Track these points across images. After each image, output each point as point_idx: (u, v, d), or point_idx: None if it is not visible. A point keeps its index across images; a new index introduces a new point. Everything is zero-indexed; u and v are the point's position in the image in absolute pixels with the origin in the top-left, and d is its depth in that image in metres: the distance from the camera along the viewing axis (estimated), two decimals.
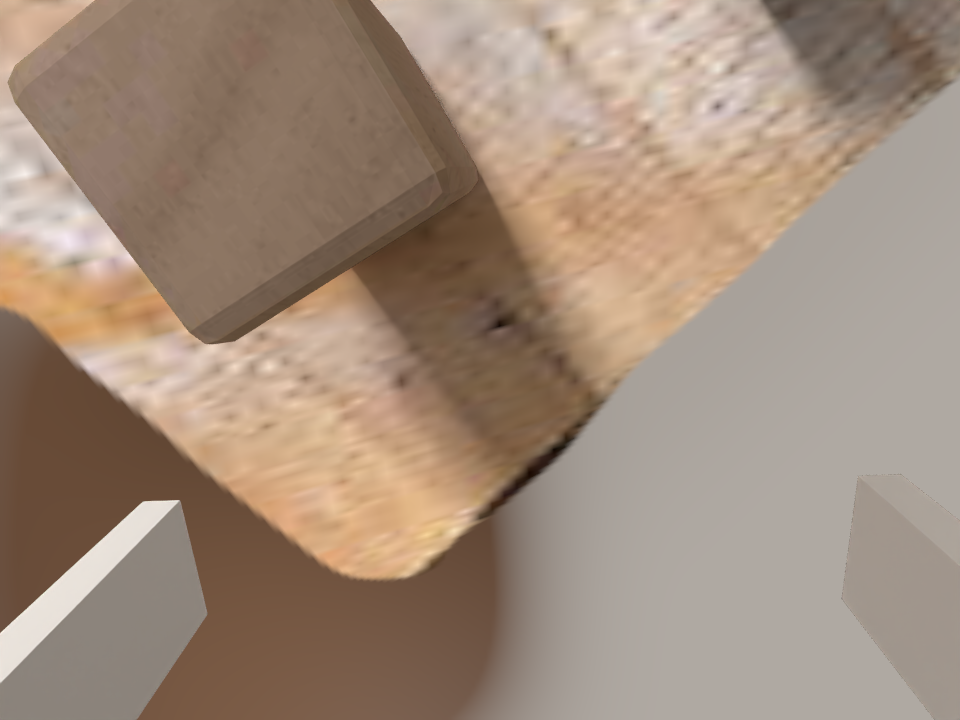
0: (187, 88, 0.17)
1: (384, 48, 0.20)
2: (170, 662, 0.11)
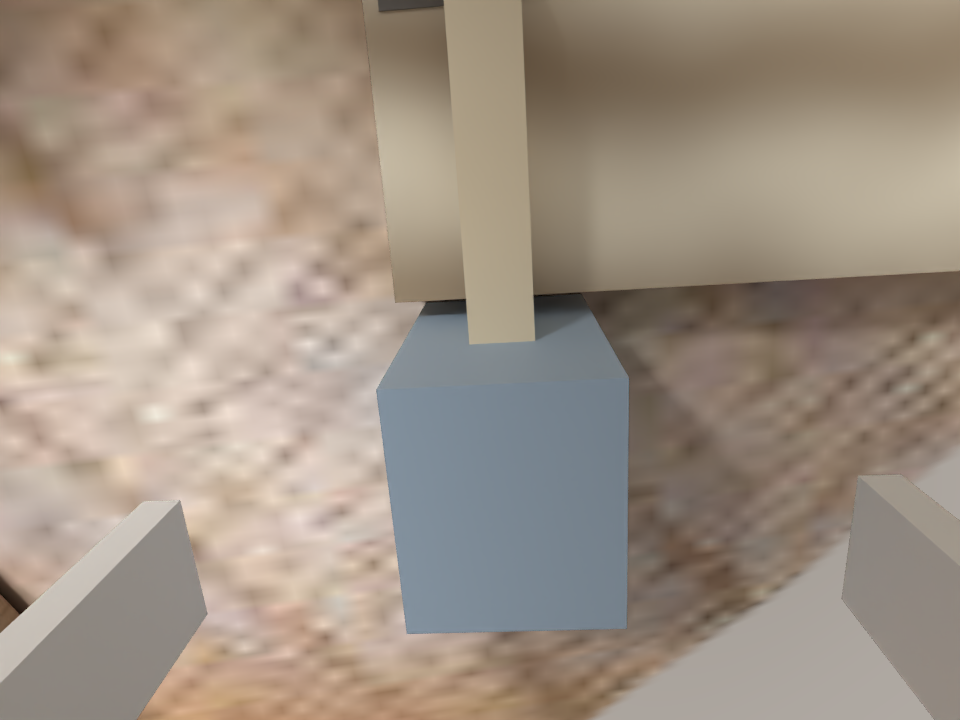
0: None
1: None
2: (170, 662, 0.11)
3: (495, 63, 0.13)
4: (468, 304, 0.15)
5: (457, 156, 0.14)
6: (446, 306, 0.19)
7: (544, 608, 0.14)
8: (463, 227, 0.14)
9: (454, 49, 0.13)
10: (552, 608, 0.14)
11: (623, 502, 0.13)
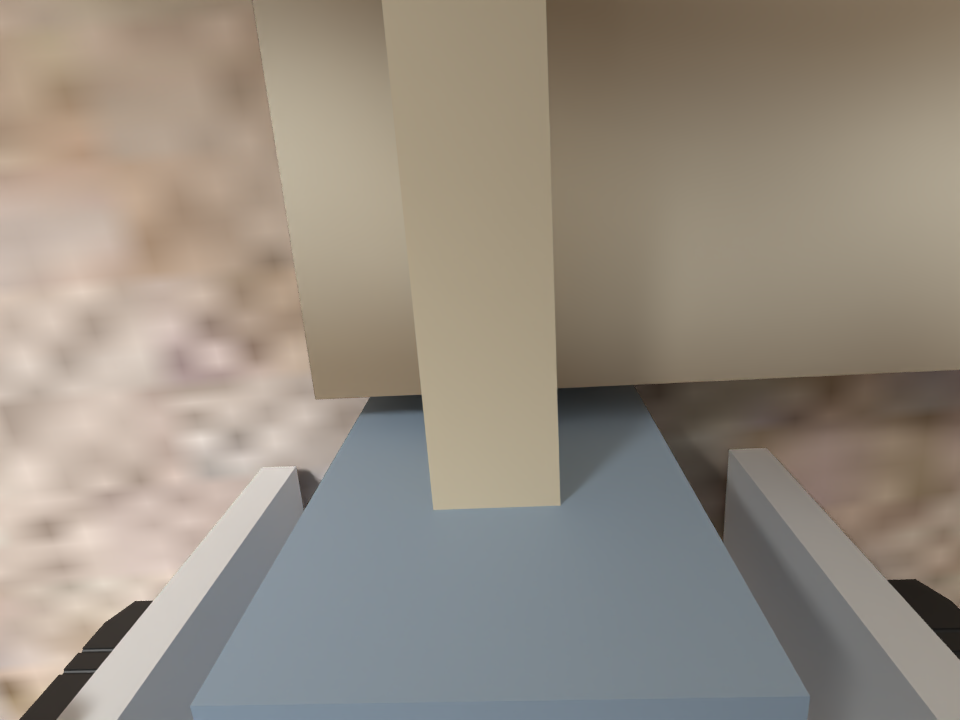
0: None
1: None
2: None
3: None
4: (430, 437, 0.07)
5: (401, 146, 0.06)
6: None
7: None
8: (416, 292, 0.07)
9: None
10: None
11: None
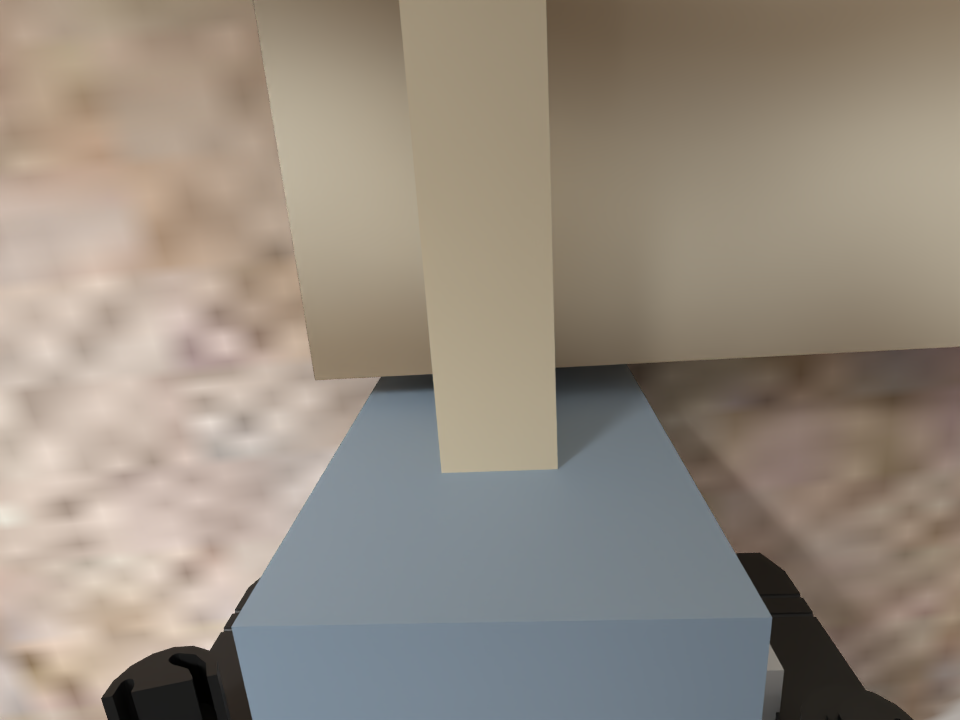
0: None
1: None
2: None
3: None
4: (439, 406, 0.08)
5: (415, 139, 0.07)
6: None
7: None
8: (428, 271, 0.08)
9: None
10: None
11: None
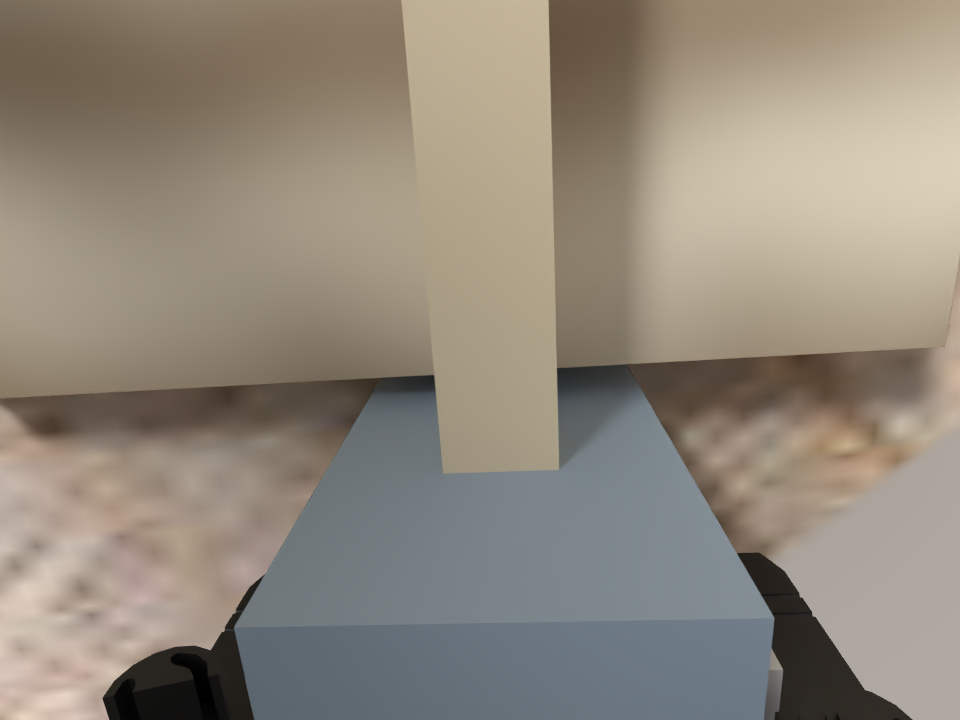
0: None
1: None
2: None
3: None
4: (440, 406, 0.08)
5: (417, 140, 0.07)
6: None
7: None
8: (430, 272, 0.08)
9: None
10: None
11: None
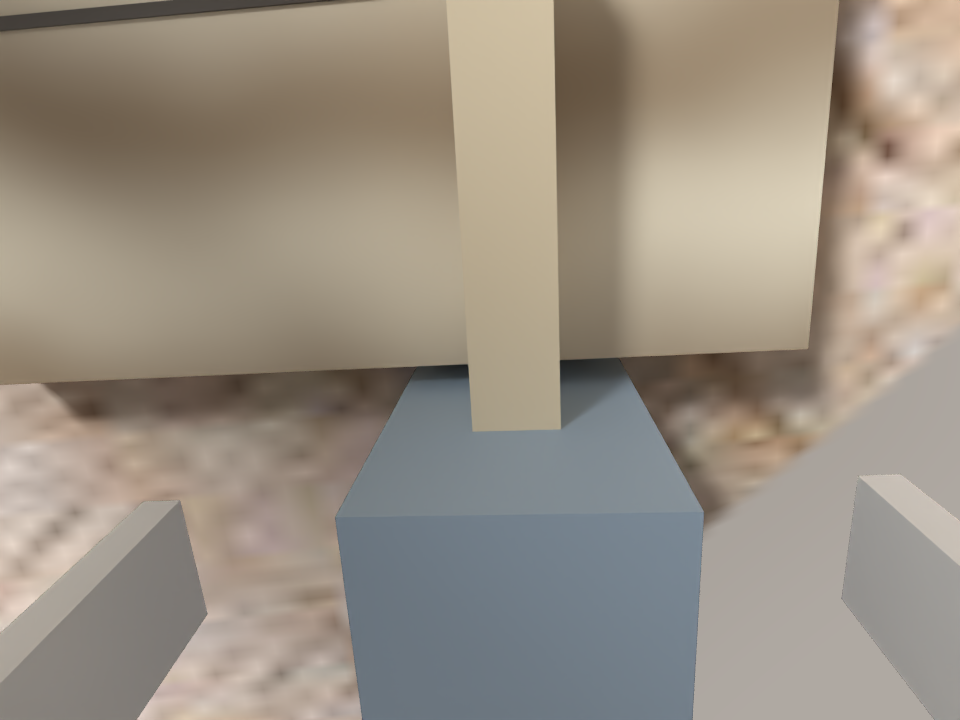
0: None
1: None
2: (170, 662, 0.11)
3: (514, 56, 0.09)
4: (472, 379, 0.11)
5: (460, 183, 0.10)
6: None
7: None
8: (466, 278, 0.10)
9: (458, 36, 0.09)
10: None
11: (687, 680, 0.09)
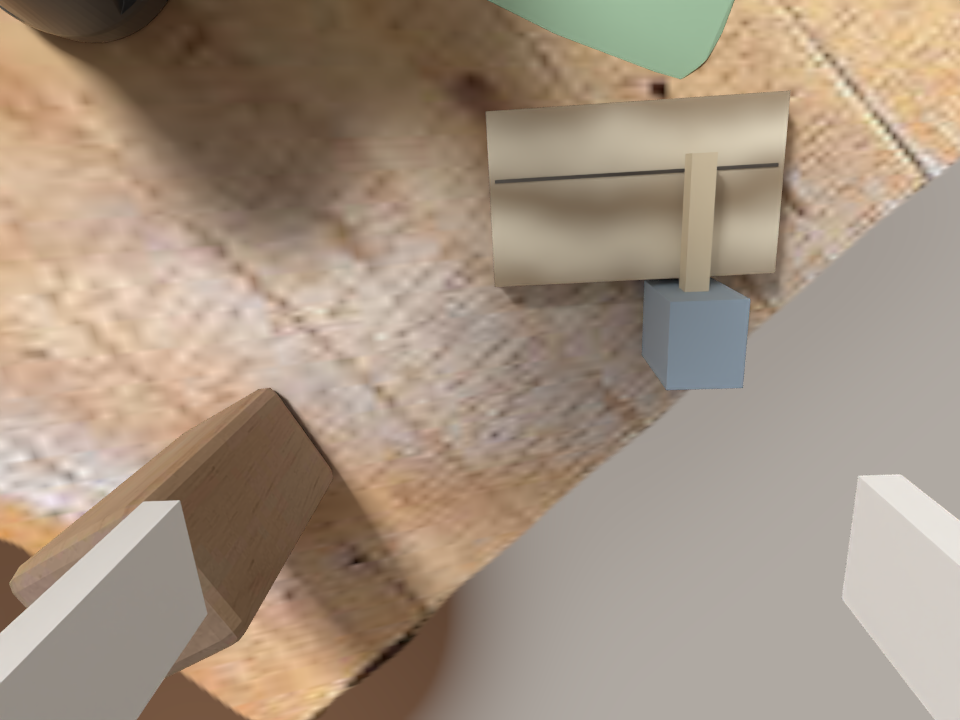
0: None
1: (218, 532, 0.36)
2: (170, 662, 0.11)
3: (705, 198, 0.40)
4: (686, 277, 0.41)
5: (689, 227, 0.40)
6: (656, 281, 0.46)
7: (715, 380, 0.41)
8: (688, 250, 0.41)
9: (692, 193, 0.40)
10: (718, 379, 0.40)
11: (745, 341, 0.40)
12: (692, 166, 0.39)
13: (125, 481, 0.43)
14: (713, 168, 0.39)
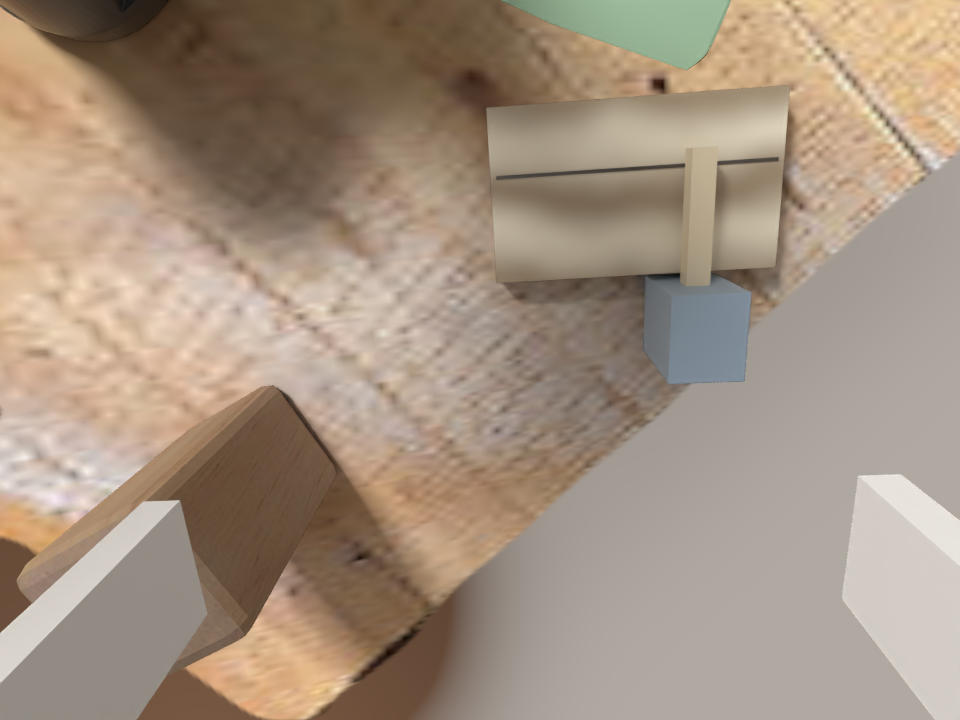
0: None
1: (224, 528, 0.37)
2: (170, 662, 0.11)
3: (706, 192, 0.40)
4: (687, 272, 0.42)
5: (689, 221, 0.41)
6: (657, 276, 0.46)
7: (717, 373, 0.41)
8: (689, 245, 0.41)
9: (693, 188, 0.40)
10: (719, 373, 0.41)
11: (746, 334, 0.40)
12: (692, 160, 0.39)
13: (130, 479, 0.43)
14: (713, 162, 0.39)
